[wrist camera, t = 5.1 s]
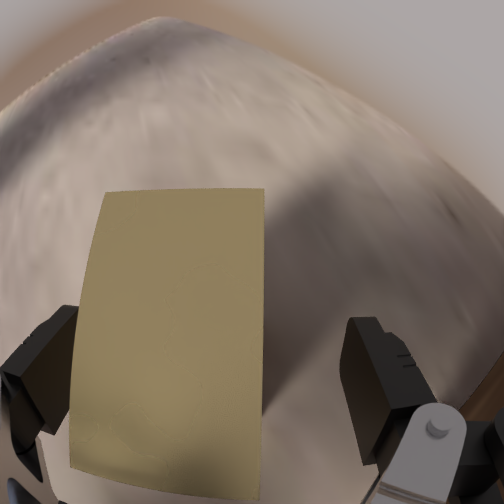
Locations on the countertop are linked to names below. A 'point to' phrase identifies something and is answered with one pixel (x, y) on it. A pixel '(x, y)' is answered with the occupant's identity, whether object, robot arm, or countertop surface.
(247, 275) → the beige rectangular block
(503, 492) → the wooden box
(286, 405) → the countertop surface
